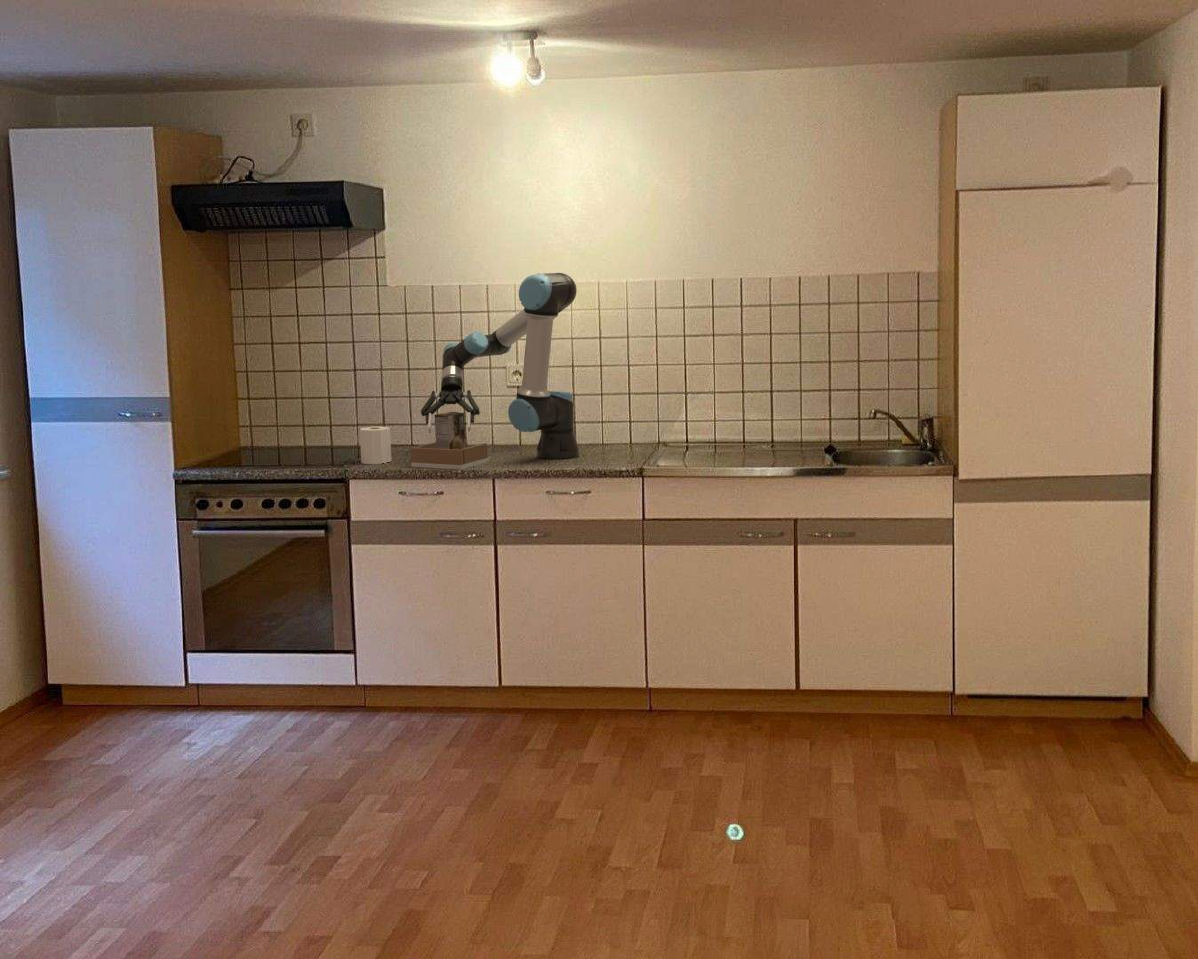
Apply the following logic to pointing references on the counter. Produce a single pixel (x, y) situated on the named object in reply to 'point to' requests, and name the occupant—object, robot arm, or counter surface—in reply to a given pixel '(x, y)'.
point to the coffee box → (450, 431)
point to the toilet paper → (375, 445)
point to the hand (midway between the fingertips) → (449, 430)
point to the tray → (448, 456)
